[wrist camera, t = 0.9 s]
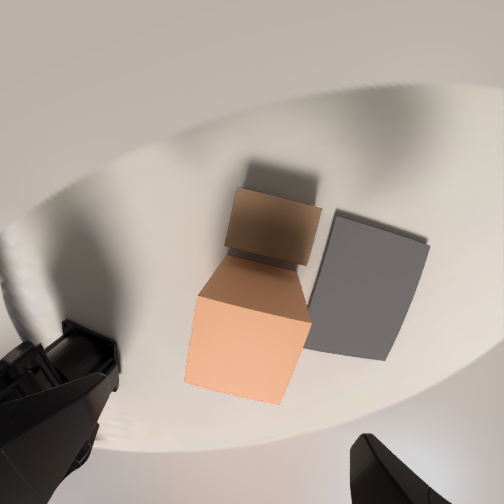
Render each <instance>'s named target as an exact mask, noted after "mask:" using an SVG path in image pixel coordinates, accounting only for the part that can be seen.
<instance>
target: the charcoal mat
mask: <svg viewBox="0 0 504 504" xmlns="http://www.w3.org/2000/svg"><path fill="white" fill-rule="evenodd" d="M429 249H430V246H429V245H427V244H424V243H421V242H418V241H415V240H412V239H409V238H406V237H403V236H400V235H397V234H394V233H391V232H388V231H385V230H382V229H379V228H376V227H372V226H369V225H366V224H363V223H359V222H356V221H353V220H349V219H346V218H343V217H339V216H336V215H335V216H334V219H333V223H332V227H331V231H330V234H329V238H328V241H327V245H326V249H325V252H324V255H323V259H322V262H321V266H320V269H319V272H318V276H317V279H316V282H315V285H314V288H313V291H312V295H311V298H310V301H309V304H308V307H307V308H308V311H309V315H310V318H311V322H312V325H311V327H310V330H309V333H308V336H307V338H306V341H305V344H304V346H303V348H305V349H310V350H316V351H321V352H327V353H333V354H339V355H345V356H352V357H359V358H366V359H374V360H382V361H385V360H386V358H387V356H388V354H389V352H390V350H391V348H392V346H393V344H394V341H395V339H396V337H397V335H398V333H399V331H400V328H401V326H402V324H403V321H404V319H405V317H406V314H407V312H408V309H409V307H410V304H411V302H412V299H413V297H414V294H415V291H416V288H417V286H418V283H419V280H420V277H421V274H422V271H423V268H424V265H425V262H426V259H427V255H428V252H429Z"/></svg>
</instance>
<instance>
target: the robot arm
mask: <svg viewBox="0 0 504 504" xmlns="http://www.w3.org/2000/svg"><path fill="white" fill-rule="evenodd" d="M62 330H63V335H62V336H61V337H60V338H58V339H57V340H56V341H54V342H53V343H52V344H51V345H49V346H48V347H47V348H45V349H44V348H43V346H42V345H41V343H40V344H37V345H35V346H34V344H32V343H31V342H30V341H28V340H26V341H24V342H23V343H21V344H20V345H18V346H17V347H16V348H14V349H13V350H12V351H10V352H9V353H8V354H7V355H6V356H4V357H3V358H2V359H1V360H0V504H47V503H48V501H49V500H50V498H51V496H52V495H53V493H54V491H55V490H56V488H57V487H58V486H59V484H60V483H61V482H62V481H63V480H64V479H65V478H66V477H67V476H68V475H69V474H70V473H71V472H73V471H74V470H76V469H78V468H79V467H81V466H82V465H83V464H84V463H85V462H86V461H87V459H88V458H89V455H90V453H91V450H92V446H93V443H94V440H95V437H96V434H97V431H98V428H99V424H98V423H97V421H98V419H99V416H100V414H101V412H102V410H103V408H104V406H105V404H106V402H107V400H108V398H109V395H110V393H111V392H112V391H113V392H116V391H117V390H118V383H119V374H118V363H117V354H116V343H115V342H114V341H113V340H111V339H109V338H106V337H104V336H102V335H99V334H97V333H95V332H93V331H90V330H88V329H86V328H84V327H82V326H80V325H78V324H75V323H73V322H71V321H69V320H67V319H65V320H63V321H62ZM110 344H111V345H110ZM43 349H44V350H43ZM350 490H351V499H352V504H452V503H450V502H448V501H447V500H446V499H444V498H443V497H442V496H441V495H439V494H438V493H437V492H436V491H434V490H433V489H432V488H431V487H429V486H428V485H427V484H426V483H425V482H424V481H423V480H422V479H421V478H419V477H418V476H417V475H416V474H415V473H414V472H413V471H412V470H411V469H409V468H408V467H407V466H406V465H405V464H404V463H403V462H402V461H401V460H400V459H398V458H397V457H396V456H395V455H394V454H393V453H392V452H391V451H390V450H389V449H388V448H387V447H386V446H385V445H384V444H383V443H382V442H381V441H379V440H378V439H377V438H376V437H375V436H374V435H373V434H371V433H366V434H365V433H363V434H361V435H360V436H359V437H358V439H357V440H356V441H355V443H354V444H353V445H352V447H351V449H350Z"/></svg>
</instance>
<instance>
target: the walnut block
mask: <svg viewBox="0 0 504 504" xmlns="http://www.w3.org/2000/svg"><path fill="white" fill-rule="evenodd" d="M321 211H322V208H318V207H315V206H311V205H307V204H304V203H300V202H296V201H292V200H288V199H284V198H280V197H276V196H272V195H268V194H264V193H260V192H256V191H251V190H247V189H243V188H238V187H237V191H236V196H235V200H234V204H233V209H232V213H231V218H230V222H229V226H228V231H227V235H226V240H225V245H224V246H227V247H231V248H235V249H239V250H243V251H247V252H251V253H255V254H259V255H263V256H268V257H272V258H276V259H280V260H284V261H288V262H292V263H296V264H300V265H304V266H307V263H308V260H309V256H310V252H311V249H312V245H313V242H314V238H315V234H316V231H317V227H318V223H319V219H320V215H321Z"/></svg>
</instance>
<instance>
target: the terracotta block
mask: <svg viewBox="0 0 504 504" xmlns="http://www.w3.org/2000/svg"><path fill="white" fill-rule="evenodd" d="M311 325H312V322H311V318H310V315H309V311H308V308H307V305H306V301H305V298H304V294H303V291H302V288H301V284H300V281H299V278H298V274H297V272H295V271H291V270H287V269H282V268H278V267H274V266H270V265H266V264H262V263H258V262H254V261H250V260H246V259H242V258H238V257H234V256H230V255H227V256H226V257H225V259H224V260H223V261H222V263H221V264H220V265H219V267H218V268H217V270H216V271H215V272H214V274H213V275H212V276H211V278H210V279H209V281H208V282H207V283H206V285H205V286H204V288H203V289H202V290H201V292H200V293H199V294H198V296H197V302H196V308H195V314H194V319H193V325H192V332H191V338H190V344H189V351H188V357H187V364H186V371H185V378H184V382H185V383H189V384H192V385H196V386H199V387H203V388H206V389H210V390H214V391H217V392H221V393H225V394H229V395H234V396H238V397H242V398H247V399H252V400H257V401H262V402H267V403H273V404H278V405H280V403H281V400H282V398H283V396H284V393H285V391H286V389H287V386H288V384H289V382H290V379H291V377H292V374H293V372H294V369H295V367H296V364H297V362H298V359H299V357H300V354H301V352H302V349H303V346H304V344H305V341H306V338H307V336H308V333H309V330H310V327H311Z"/></svg>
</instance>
